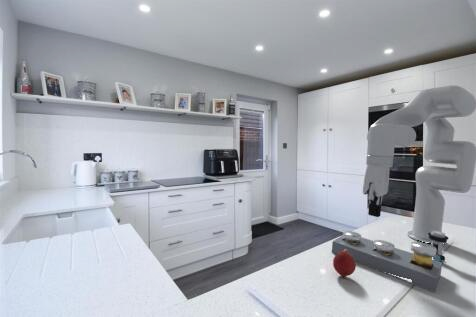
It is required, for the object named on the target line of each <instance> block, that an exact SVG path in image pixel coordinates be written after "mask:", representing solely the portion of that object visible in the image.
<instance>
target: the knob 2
mask: <svg viewBox="0 0 476 317" xmlns="http://www.w3.org/2000/svg"><path fill="white" fill-rule="evenodd" d="M410 244H411V245H410V251H411V252H412V253H413V261H412V264H414V265H417V266H420V267H423V268H426V269H431V265H432V257H436V251H437V249H436V248H435V247H434V246H432V245H431V244H427V243H423V242H420V241H412V242H411V243H410Z"/></svg>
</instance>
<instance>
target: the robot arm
mask: <svg viewBox="0 0 476 317" xmlns="http://www.w3.org/2000/svg"><path fill="white" fill-rule="evenodd" d="M475 111H476V98H475V96H474V95H473V94H472V92H470V91H468V90H467V89H466V88H464V87H462V86H459V85H445V86H438V87H431V88H426V89H422V90H421V91H418V93H416V95H414V96H413V97H412V98H411V100H410V101H408V102H407V104H405V105H404V107H402V108H399V109H397V110H395V111H392V112H390V113H388V114H386V115H384V116H382V117H380V118H379V119H378V120H376V121H375V122H374V123H373V124H371V125H370V127H369V129H368V132H367V133H366V139H367V152H366V162H365V165H366V169H365V173H364V174H365V175H364V178H363V184H362V185H363V186H362V194H363V195H364V196H365V195H368V198H367V200H368V215H369V216H371V217H375V218H379V217H381V214H382V213H381V212H382V203H383V197H384V196H385V195H387V194H388V191H389V183H390V182H389V181H390V168H393V165H394V164H393V163H394V156H395V154H394V153H395V148H407V147H410V146H412V145H413V144H414V143H415V141H416V139H417V133H416V131H415V129H414V128H413V127H417V126H420V125H422V124H424V123H425V125H426V127H427V128H426V130H427V134H426V140H425V144H424V151H423V158H424V160H425V161H427V162H429V163H432V164H433V163H434V164H440V165H441V164H443V165H451V166H452V165H454V166H456V167H446V166H436V165H424V166H420V167H419V168H417V169H416V172H415V186H416V187H415V188H416V191H415V192H416V195H415V201H414V202H415V205H414V213H413V222H412V230H410V231H407V236H408V237H409V238H410V239H412V238H413V239H412V240H414V239H415V241H417V240H419V241H418V242H420V241H423V242H429V243H432V240H431V239H429V235H428V233H429V232H432V231H439V232H443V231H442V229H443V221H444V213H445V205H446V201H445V198H444V196H443V194H442V193H441V192H440V191H445V192H450V193H457V194H458V193H459V194H465V193H467V192H469V191H470V190H471V188H472V185H473V180H474V175H475V169H476V144H474V143H473V142H470V141H466V140H454V136H455V127H454V126H453V124H452V123H450V121H449V120H448V119H449V118H465V117H468V116H470V115H472V114H473V113H475ZM423 242H422V243H423Z"/></svg>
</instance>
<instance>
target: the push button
mask: <svg viewBox="0 0 476 317" xmlns="http://www.w3.org/2000/svg"><path fill="white" fill-rule="evenodd" d="M428 235H429V239H431V240H432V244H430V245H432V246H434V247H435V248H436V249H437V251H436V257H433V259H434V260H436V261H439V262H442V265H443V266H446V264H447V262H446V261H445V260H446V257H445V256H444V255H443V247H444V245H443V243H445V244H446V243H447V241H448V240H449V237H448V236H447V235H446V233H445V232H443V231H441V232H439V231H432V232H429V233H428Z"/></svg>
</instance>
